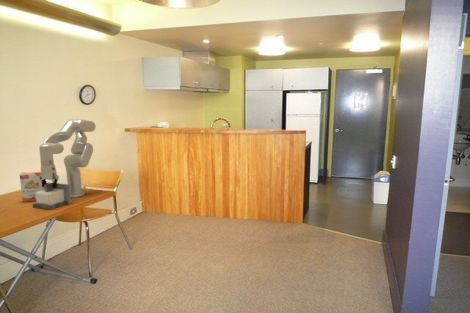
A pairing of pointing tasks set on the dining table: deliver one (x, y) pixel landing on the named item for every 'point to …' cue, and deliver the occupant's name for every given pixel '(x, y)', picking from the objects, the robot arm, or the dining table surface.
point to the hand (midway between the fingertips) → (49, 187)
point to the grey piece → (67, 202)
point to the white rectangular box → (50, 195)
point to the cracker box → (30, 185)
